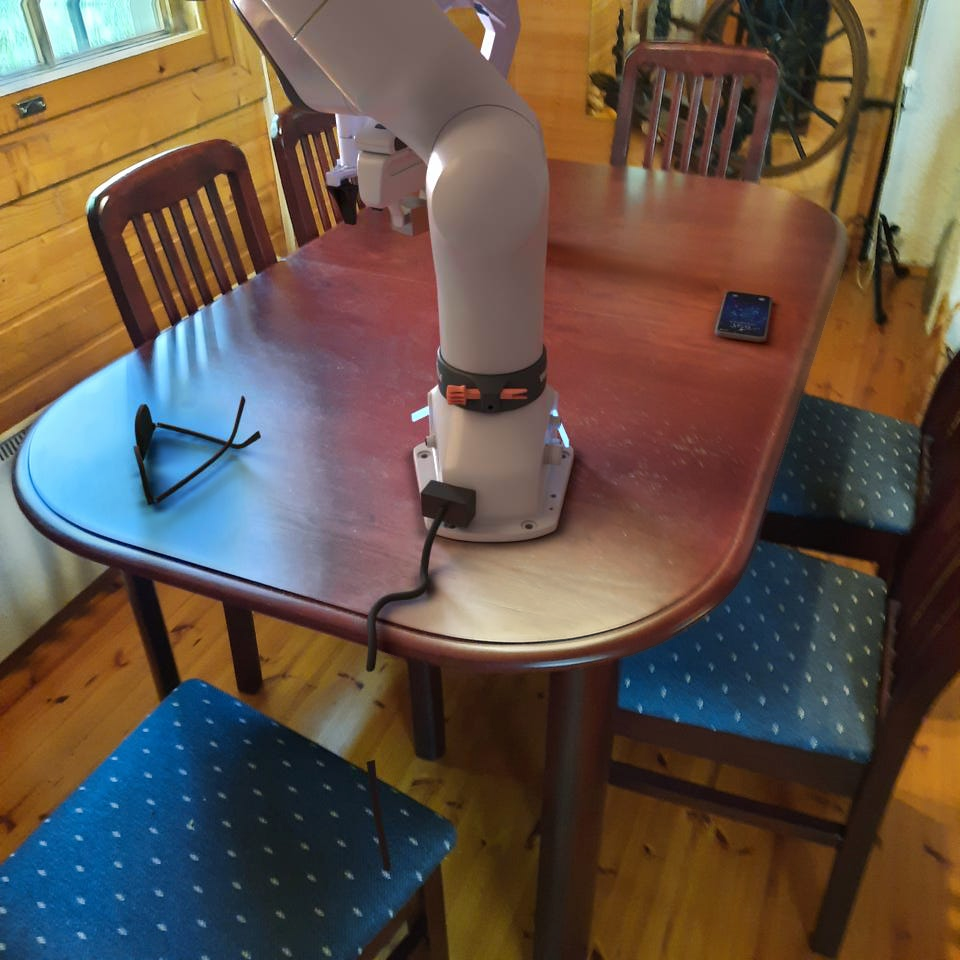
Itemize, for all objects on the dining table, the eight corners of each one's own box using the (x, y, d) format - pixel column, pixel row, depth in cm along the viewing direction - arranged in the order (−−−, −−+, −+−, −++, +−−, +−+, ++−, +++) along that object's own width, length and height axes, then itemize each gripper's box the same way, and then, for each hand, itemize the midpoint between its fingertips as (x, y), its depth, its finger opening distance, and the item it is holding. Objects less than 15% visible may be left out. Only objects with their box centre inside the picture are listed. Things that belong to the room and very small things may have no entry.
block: (412, 221, 136) (410, 194, 134) (433, 229, 133) (432, 201, 131) (391, 229, 134) (389, 201, 131) (412, 237, 131) (410, 209, 128)
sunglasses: (270, 486, 97) (262, 449, 94) (137, 510, 94) (125, 474, 91) (257, 411, 110) (250, 377, 107) (140, 430, 107) (130, 396, 104)
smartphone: (773, 295, 132) (766, 339, 121) (772, 301, 133) (765, 345, 121) (725, 289, 134) (713, 331, 123) (724, 295, 135) (712, 337, 123)
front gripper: (427, 107, 133) (432, 196, 141) (346, 139, 119) (356, 236, 127) (462, 111, 130) (464, 202, 138) (383, 145, 116) (391, 244, 124)
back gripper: (363, 120, 145) (371, 200, 153) (307, 141, 135) (318, 226, 143) (397, 125, 142) (403, 206, 150) (342, 147, 132) (352, 233, 140)
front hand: (412, 219), depth 132 cm, fingers closed on block, 5 cm apart
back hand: (364, 216), depth 146 cm, fingers open, 7 cm apart
